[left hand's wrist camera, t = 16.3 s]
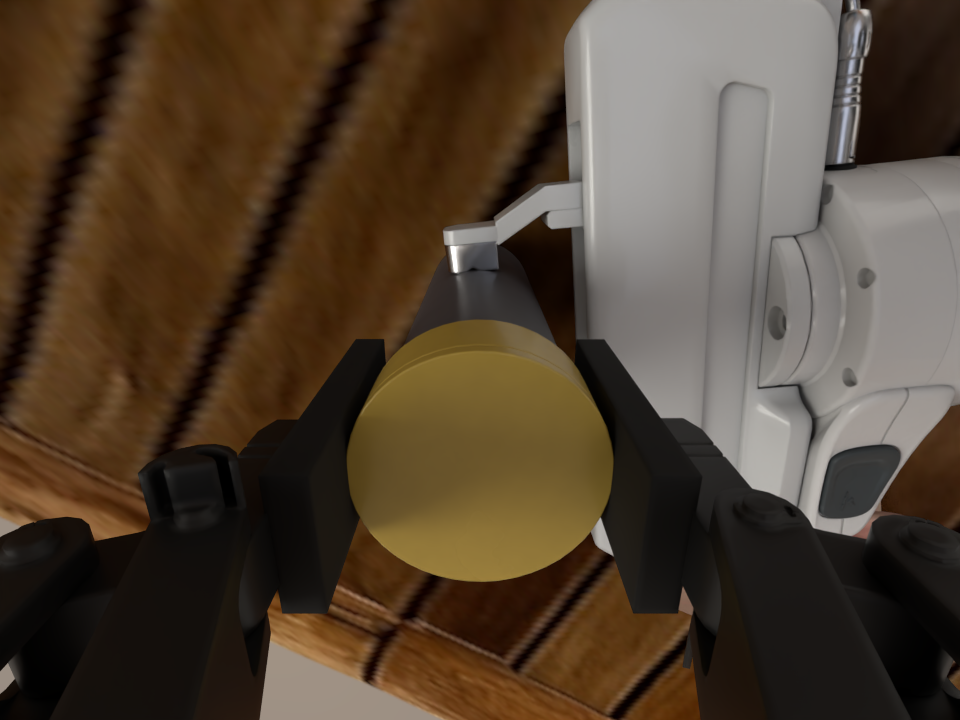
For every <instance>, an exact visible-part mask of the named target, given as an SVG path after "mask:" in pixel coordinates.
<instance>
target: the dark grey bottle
mask: <svg viewBox="0 0 960 720" xmlns="http://www.w3.org/2000/svg"><path fill="white" fill-rule="evenodd" d="M497 252H498V266H499V269H494V270H485V271H482V270H477V269H475V268H473V267H472V268H471V269H470V270H469V271H468V272H463V273H450V272H449V270H448V264H447V257H446V256H445V257H444V258H443V260H442V261H441V262H440V264H439V265H438V267H437V269H436V271H435V274H434V276H433V278H432V281H431V283H430V285H429V288H428V290H427V292H426V295H425V297H424V299H423V302H422V304H421V306H420V309H419V311H418V313H417V316H416V318H415V321H414V323H413V325H412V328H411V330H410V332H409V335H408V337H407V339H406V342H405V344H407V343H408V342H410V341H411V340H413V339H414V338H415V337H417V336H419V335H421V334H423V333H425V332H427V331H429V330H431V329H434V328H436V327H439V326H442V325H445V324H449V323H453V322H458V321H465V320H476V319H477V320H495V321H502V322H508V323H511V324H515V325H518V326H522V327H524V328H527V329H529V330H531V331H534V332H536V333H538V334H540V335H541V336H543V337H544V338H546V339H548V340H549V341H551V342H552V343H553V344H555V345H556V343H555V341H554V338H553V336H552V334H551V331H550V329H549V327H548V324H547V322H546V320H545V317H544V315H543V313H542V310H541V308H540V306H539V303H538V301H537V299H536V296H535V294H534V291H533V289H532V287H531V284H530V282H529V280H528V277H527V275H526V273H525V270H524V268H523V266H522V265H521V263H520V262H519V260H518V259H517V258H516V257H515V256H514V255H513V254H512V253H511V252H510V251H508V250H507V249H505V248H504V247H502V246H500V245H497ZM405 344H404V345H405ZM556 346H557V345H556Z"/></svg>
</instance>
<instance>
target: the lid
mask: <svg viewBox="0 0 960 720" xmlns="http://www.w3.org/2000/svg"><path fill="white" fill-rule="evenodd" d="M346 460H347V471H348V480H349V489H350V496H351V499H352V501H353V504H354V507H355V509H356V511H357V513H358V515H359V516H360V518H361V520H362V522H363V523H364V525H365V526H366V527H367V529H368V530H369V531H370V533H371V534H372V535H373V536H374V537H375V538H376V539H377V540H378V541H379V542H380V543H381V544H382V545H383V546H384V547H385V548H386V549H388V550H389V551H390V552H391V553H393V554H394V555H395V556H397V557H398V558H400V559H402V560H403V561H405V562H406V563H408V564H410V565H412V566H414V567H416V568H418V569H420V570H423V571H426V572H428V573H431V574H434V575H437V576H441V577H446V578H450V579H455V580H463V581H482V582H485V581H498V580H505V579H510V578H516V577H519V576H523V575H526V574H529V573H532V572H535V571H537V570H540V569H542V568H544V567H547V566H548V565H550V564H552V563H554V562H556V561H557V560H559V559H561V558H562V557H563V556H565V555H566V554H568V553H569V552H571V551H572V550H573V549H574V548H575V547H576V546H577V545H579V544H580V543H581V542H582V541H583V540H584V539H585V538H586V536H587V535H588V534H589V533H590V532H591V531H592V529H593V528H594V527H595V525H596V523H597V522H598V520H599V519H600V517H601V516H602V513H603V511H604V509H605V507H606V505H607V503H608V500H609V496H610V493H611V485H612V476H613V465H614V453H613V447H612V441H611V438H610V435H609V432H608V429H607V426H606V424H605V422H604V420H603V418H602V416H601V414H600V412H599V410H598V408H597V406H596V404H595V401H594V399H593V397H592V395H591V393H590V391H589V389H588V387H587V385H586V383H585V381H584V379H583V377H582V375H581V373H580V372H579V370H578V369H577V367H576V366H575V365H574V363H573V362H572V361H571V359H570V358H569V357H568V356H567V355H566V354H565V353H564V352H563V351H562V350H561V349H560V348H558V347H557V346H556V345H555V344H553V343H552V342H551V341H549V340H548V339H546V338H544V337H543V336H541V335H540V334H538V333H536V332H534V331H531V330H529V329H527V328H524V327H522V326H518V325H515V324H511V323H508V322H502V321H495V320H477V319H476V320H465V321H458V322H453V323H449V324H445V325H442V326H439V327H436V328H434V329H431V330H429V331H427V332H425V333H423V334H421V335H419V336H417V337H415V338H414V339H413V340H411V341H410V342H408V343H407V344H405V345H404V346H403V347H402V348H401V349H400V350H399V351H397V352H396V353H395V354H394V355H393V356H392V357H391V359H390V360H389V361H388V362H387V364H386V365H385V366H384V367H383V369H382V371H381V372H380V374H379V376H378V377H377V379H376V381H375V383H374V385H373V387H372V389H371V391H370V393H369V395H368V397H367V399H366V402H365V404H364V406H363V408H362V410H361V412H360V414H359V416H358V418H357V420H356V422H355V425H354V427H353V430H352V432H351V435H350V439H349V443H348V447H347V454H346Z"/></svg>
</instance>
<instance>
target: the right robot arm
mask: <svg viewBox="0 0 960 720" xmlns="http://www.w3.org/2000/svg"><path fill="white" fill-rule="evenodd" d="M842 1H843V3H844V10H845V13H842V14H841V9H842ZM872 36H873V15H872V10H871V9H868V8H865V9H861V1H860V0H592V1H591V2H590V3H589V4H588V5H587V7H586V8H585V9H584V10H583V11H582V13H581V14H580V15H579V17H578V18H577V19H576V21H575V23H574V24H573V26H572V28H571V29H570V31H569V33H568V35H567V37H566V40H565V45H564V63H565V88H566V112H567V136H568V161H569V181H561V182H552V183H544V184H537V185H536V186H535V187H533V188H532V189H531V190H529V191H528V192H527V193H525V194H524V195H523V196H521V197H520V198H519V199H517V200H516V201H515V202H513V203H512V204H511V205H509V206H508V207H507V208H505V209H504V210H503V211H502V212H500V213H499V214H498V215H496V216H495V217H494V221H486V222H477V223H468V224H459V225H453V226H448V227H445V228H444V230H443V234H444V243H445V250H446V257H447V264H448V270H449V272H450V273H463V272H468V271H469V270H470V269H471V268H472V267H473V268H475V269H477V270H482V271H485V270H494V269H499V266H498V252H497V244H498V245H500V244H501V243H502V242H504V241H505V240H507V239H508V238H509V237H511V236H512V235H514V234H515V233H516V232H518V231H519V230H521V229H522V228H523V227H525V226H526V225H528V224H529V223H530V222H532V221H533V220H535V219H536V218H537V217H539V216H540V215H541V220H542V221H543V222H544V223H545V224H546V225H547V226H548V227H550V228H551V229H558V228H569V227H571V234H572V259H573V283H574V308H575V332H576V339H605V341H606V342H607V344H608V345H609V346H610V348H611V349H612V351H613V352H614V353H615V355H616V356H617V358H618V359H619V360H620V362H621V363H622V365H623V366H624V367H625V369H626V370H627V372H628V373H629V374H630V376H631V377H632V378H633V380H634V381H635V383H636V384H637V385H638V387H639V388H640V390H641V391H642V392H643V394H644V395H645V397H646V398H647V399H648V401H649V402H650V404H651V405H652V406H653V408H654V409H655V411H656V412H657V413H658V415H659V416H660V418H684V419H686V420H687V421H689V422H691V423H692V424H694V425H696V426H697V427H699V428H701V429H702V430H703V431H704V432H705V433H706V434H707V436H708V437H709V438H710V439H711V440H712V441H713V443H714V445H716V446H717V447H718V449H719V450H720V451H721V452H722V453H723V457H726V458H727V459H728V460H729V462H730V463H731V464H732V465H733V466H734V468H735V469H736V470H737V471H738V472H739V473H740V475H741V476H742V477H743V478H744V479H745V481H746V482H747V483H748V484H749V485H750V486H751V488H752V489H756V490H761V491H765V492H769V493H771V494H774V495H776V496H778V497H781V498H783V499H786V500H787V501H789V502H790V503H792V504H793V505H795V506H796V507H798V508H799V509H800V510H801V511H802V512H803V513H804V514H805V516H806V517H807V518H808V519H809V521H810V523H811V525H812V526H813V528H816V529H820V530H823V531H828V532H833V533H838V534H844V535H849V536H853V535H855V534H857V533H858V532H860V531H861V530H862V529H863V528H864V527H865V525H866V524H867V523H868V521H869V520H870V518H871V517H872V515H873V513H874V512H875V510H876V508H877V506H878V505H879V503H880V501H881V500H882V498H883V496H884V495H885V493H886V491H887V490H888V488H889V486H890V485H891V483H892V482H893V480H894V479H895V477H896V476H897V474H898V473H899V471H900V469H901V468H902V467H903V465H904V464H905V462H906V461H907V460H908V458H909V457H910V455H911V454H912V453H913V451H914V450H915V449H916V448H917V446H918V445H919V444H920V443H921V441H922V440H923V439H924V438H925V437H926V436H927V434H928V433H929V432H930V431H931V430H932V429H933V428H934V427H935V426H936V424H937V423H938V422H939V421H940V420H941V419H942V418H943V417H944V415H945V414H946V412H947V411H948V409H949V408H950V406H954V405H958V404H960V156H939V157H932V158H923V159H913V160H905V161H896V162H887V163H877V164H868V165H854V162H855V155H856V149H857V141H858V135H859V128H860V121H861V109H862V104H860V103H861V102H862V95H860V93H862V86H861V84H862V80H863V76H862V74H863V73H864V66H865V60H866V58H868V56H869V53H870V49H871V44H872ZM591 533H592V536H593V539H594V542H595V544H596V545H597V546H598V547H599V548H600V549H602V550H603V551H605V552H607V553H609V554H611V555H613V552H612V549H611V546H610V543H609V541H608V538H607V535H606V532H605V529H604V526H603V523H602V520H601V517H600V519H599V520H598V522H597V523H596V525H595V527H594V528H593V529H592V531H591ZM613 556H614V555H613Z"/></svg>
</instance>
